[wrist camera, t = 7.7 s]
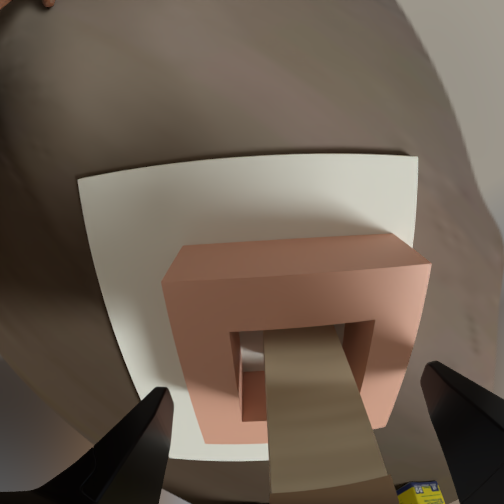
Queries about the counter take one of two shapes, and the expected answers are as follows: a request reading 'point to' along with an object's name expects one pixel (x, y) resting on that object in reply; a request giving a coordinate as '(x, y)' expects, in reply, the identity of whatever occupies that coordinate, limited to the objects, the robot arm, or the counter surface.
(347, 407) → the dowel
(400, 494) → the supplement box
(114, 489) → the robot arm
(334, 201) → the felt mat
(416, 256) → the pink square ring
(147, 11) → the counter surface
